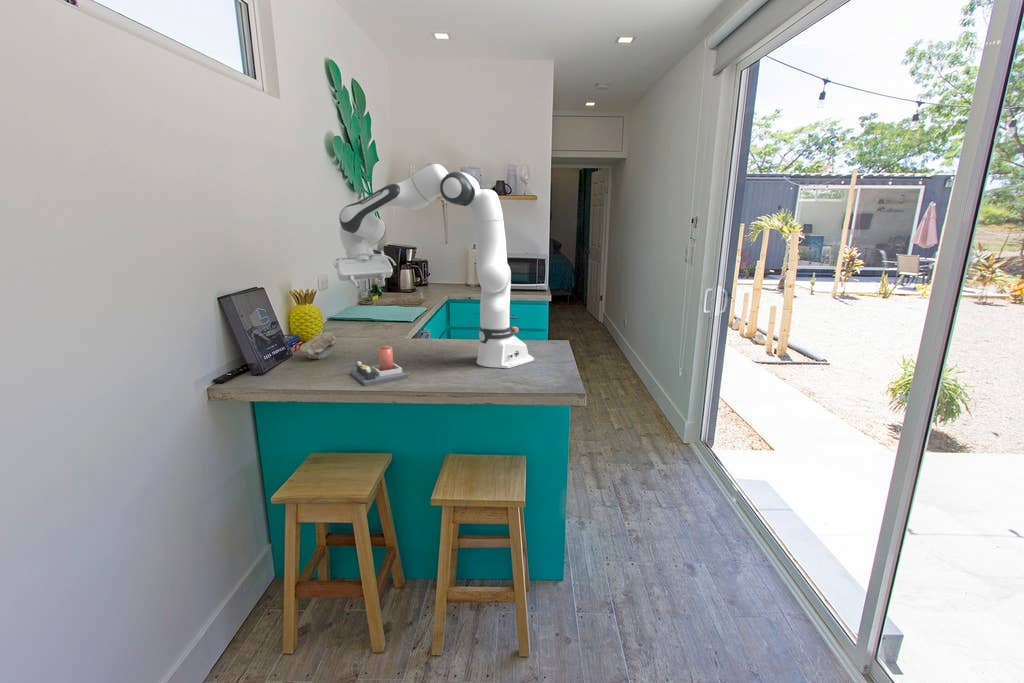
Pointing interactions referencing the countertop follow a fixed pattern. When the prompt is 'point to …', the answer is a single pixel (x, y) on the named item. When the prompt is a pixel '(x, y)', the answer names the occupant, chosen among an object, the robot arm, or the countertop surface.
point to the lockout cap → (386, 358)
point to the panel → (376, 374)
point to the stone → (319, 345)
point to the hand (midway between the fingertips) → (370, 286)
